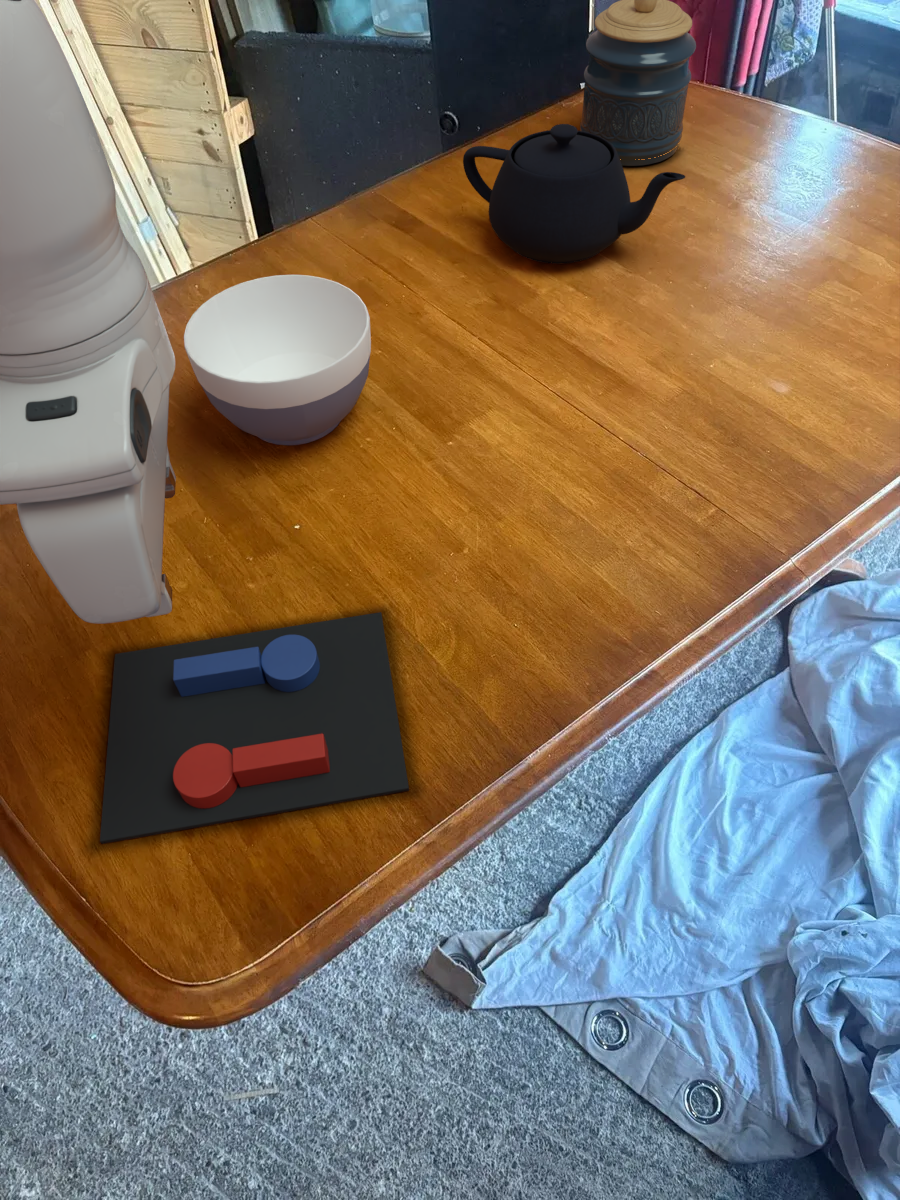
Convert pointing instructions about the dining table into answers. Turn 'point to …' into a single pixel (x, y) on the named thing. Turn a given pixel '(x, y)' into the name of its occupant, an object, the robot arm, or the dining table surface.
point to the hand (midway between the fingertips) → (161, 545)
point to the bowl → (282, 355)
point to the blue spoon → (250, 668)
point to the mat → (251, 729)
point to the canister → (638, 79)
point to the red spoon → (245, 767)
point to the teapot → (561, 195)
